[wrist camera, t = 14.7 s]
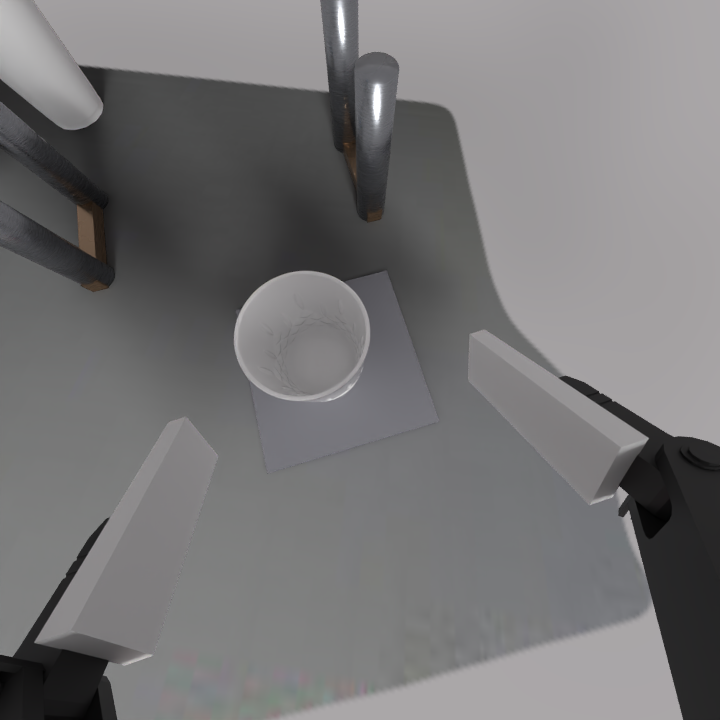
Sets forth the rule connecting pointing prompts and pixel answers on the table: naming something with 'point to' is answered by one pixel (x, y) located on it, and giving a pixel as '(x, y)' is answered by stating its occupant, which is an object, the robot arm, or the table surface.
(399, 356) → the mat
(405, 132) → the table surface
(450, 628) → the table surface
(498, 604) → the table surface
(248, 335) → the white cup
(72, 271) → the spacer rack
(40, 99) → the foam cup
